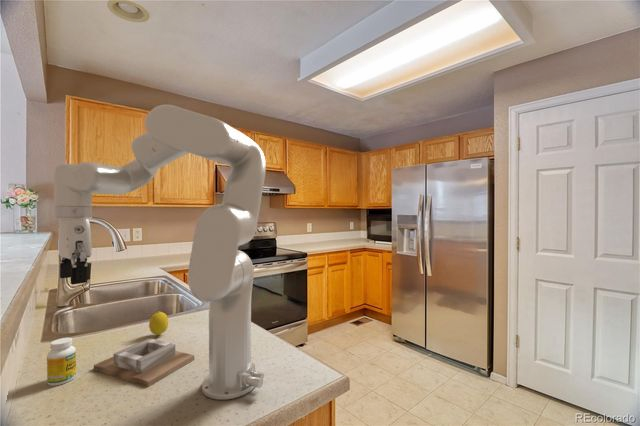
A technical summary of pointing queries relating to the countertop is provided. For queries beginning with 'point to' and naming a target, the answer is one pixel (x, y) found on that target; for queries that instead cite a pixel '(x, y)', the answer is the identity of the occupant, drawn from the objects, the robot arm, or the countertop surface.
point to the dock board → (148, 374)
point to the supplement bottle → (61, 362)
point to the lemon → (158, 323)
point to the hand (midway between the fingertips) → (73, 280)
